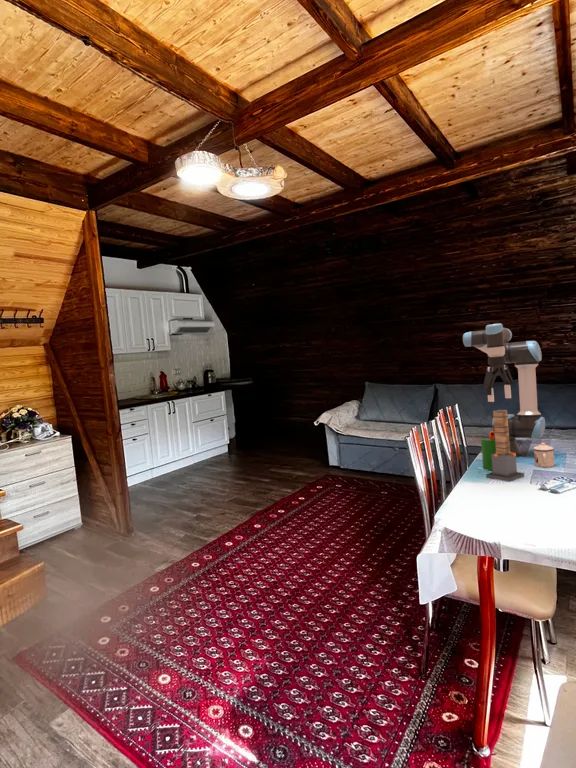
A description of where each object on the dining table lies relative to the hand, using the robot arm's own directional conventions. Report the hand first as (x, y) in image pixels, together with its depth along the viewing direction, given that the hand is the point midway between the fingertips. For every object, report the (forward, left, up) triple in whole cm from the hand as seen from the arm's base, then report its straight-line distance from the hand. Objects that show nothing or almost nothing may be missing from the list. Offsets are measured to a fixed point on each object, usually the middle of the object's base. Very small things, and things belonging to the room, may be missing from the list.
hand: (499, 399), depth 211 cm
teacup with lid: (-27, +4, -38) cm, 47 cm away
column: (+2, +1, -28) cm, 28 cm away
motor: (-9, -12, -38) cm, 40 cm away
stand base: (+2, +1, -37) cm, 37 cm away
